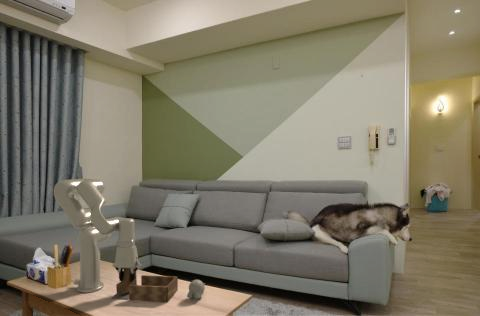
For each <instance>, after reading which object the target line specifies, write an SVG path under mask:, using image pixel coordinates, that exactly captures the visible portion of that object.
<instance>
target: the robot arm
mask: <svg viewBox="0 0 480 316" xmlns="http://www.w3.org/2000/svg"><path fill="white" fill-rule="evenodd" d="M53 188H54V189H53V196H54V200H55V201H56V203H57V204H58V205H59V206H60V207H61V208H62V210H63V212H64V214H65V215H66V217H67V219H68V220H69V222H70V223H71V225H72V227H73V228H74V229H76V230H77V229H78V230H79V229H82V230H79V232H78V235H77V243H78V247H79V272H80V273H79V275H80V277H79V278H76V279H75V280H74V282H73V285H77V287H76V292H78V293H82V294H83V293H88V294H89V293H93V292H97V291H99V290H101V289H102V288H104V282H103V281H101V251H100V249H99V246H98V244H101V243H103V242H106V241H108V240H110V238H111V236H112V234H116V233H118V240H116V244H117V245H118V246H117V247H116V252H115V258H114V259H115V261H114V262H113V264H112V267H113V268H114V269H115V270H116V271H117V273H118V279H119V282H121V281H122V279H123V275H124V269H123V268H130V269H131V274H130V281H131V282H132V281H133V280H135V272H136V273H137V271H138V270H139V269H140V268H141V267H142V264H141V263H140V261H139V256H138V248H137V245H135V244H136V240H135V239H136V237H135V235H136V234H135V231H136V230H135V229H136V228H135V219H134V218H131V217H129V218H127V217H122V216H115V217H109V218H105V216H104V215H103V213H102V212H101V209H102V208H104V206H105V205H106V203H107V199H106V197H104V195H103V193H104V191H105V185H104V183H103V181H101V180H100V179H92V178H91V179H90V178H74V179H72V178H71V179H63V180H60V181H58V182H57V183H56V184H55V185H54V187H53ZM73 195H74V196H75V195H79V196H80V197H81V199H82V200H83V201H84V202H85V204H86V205H87V206H88V208H87V209H86V208H84V207H83V206H82V204H81V202H80V201H79V200H78V199H77V198H75V197H74V196H73ZM135 265H136V268H135Z"/></svg>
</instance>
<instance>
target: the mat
mask: <svg viewBox="0 0 480 316" xmlns="http://www.w3.org/2000/svg"><path fill="white" fill-rule="evenodd" d="M113 299H114V300H127V301H129V292H127V293H125V294H123V295H122V294H118V293H117V292H116V293H115V294H114V295H113V296H111V297H110V300H113Z"/></svg>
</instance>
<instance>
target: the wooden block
mask: <svg viewBox="0 0 480 316" xmlns="http://www.w3.org/2000/svg"><path fill="white" fill-rule="evenodd" d="M136 267H137V265H135V268H136ZM123 271H124V275H123V279H122V281H119V282H118V283H117V284H115V285H116V287H115V290H116V293H118V294H122V295H123V294H125V293H127V292H129V285H138V283H137V282H138V281H137V271H136V272H135V280H133V281H132V282H131V281H130V274H131V269H130V268H123Z"/></svg>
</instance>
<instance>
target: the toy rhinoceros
mask: <svg viewBox="0 0 480 316" xmlns="http://www.w3.org/2000/svg"><path fill="white" fill-rule="evenodd" d="M205 286H206V283H205V282H203V281H202V280H200V279H194V280H192V281H191V282H190V284H189V285H188V293H187V295H186V297H187V298H188V299H197V300H201V299H202V298H203V297H202V296H203V294H204V291H205V289H206V287H205Z"/></svg>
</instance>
